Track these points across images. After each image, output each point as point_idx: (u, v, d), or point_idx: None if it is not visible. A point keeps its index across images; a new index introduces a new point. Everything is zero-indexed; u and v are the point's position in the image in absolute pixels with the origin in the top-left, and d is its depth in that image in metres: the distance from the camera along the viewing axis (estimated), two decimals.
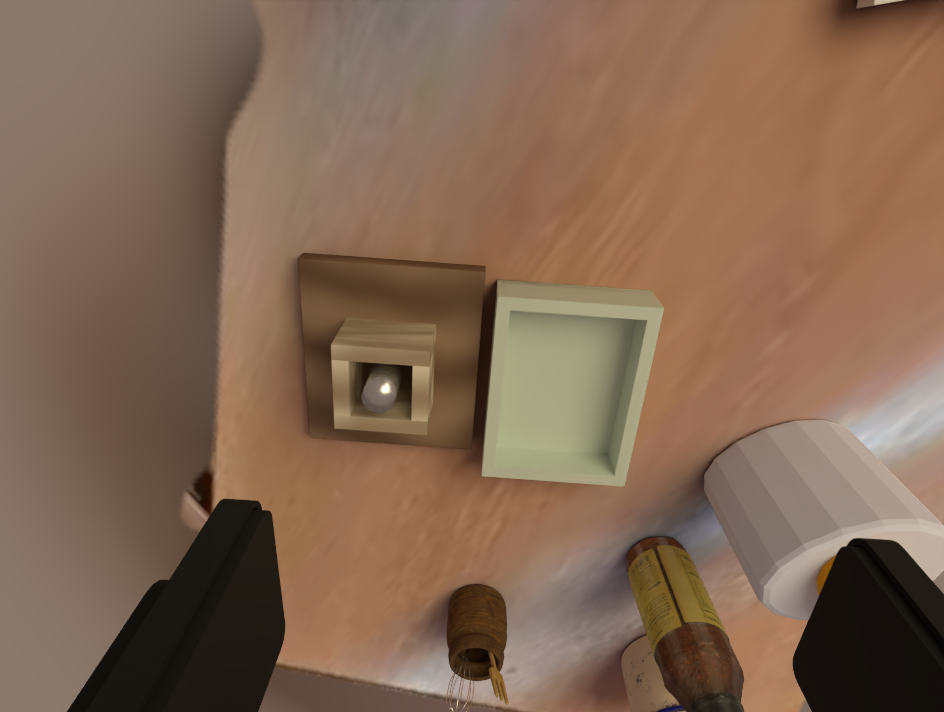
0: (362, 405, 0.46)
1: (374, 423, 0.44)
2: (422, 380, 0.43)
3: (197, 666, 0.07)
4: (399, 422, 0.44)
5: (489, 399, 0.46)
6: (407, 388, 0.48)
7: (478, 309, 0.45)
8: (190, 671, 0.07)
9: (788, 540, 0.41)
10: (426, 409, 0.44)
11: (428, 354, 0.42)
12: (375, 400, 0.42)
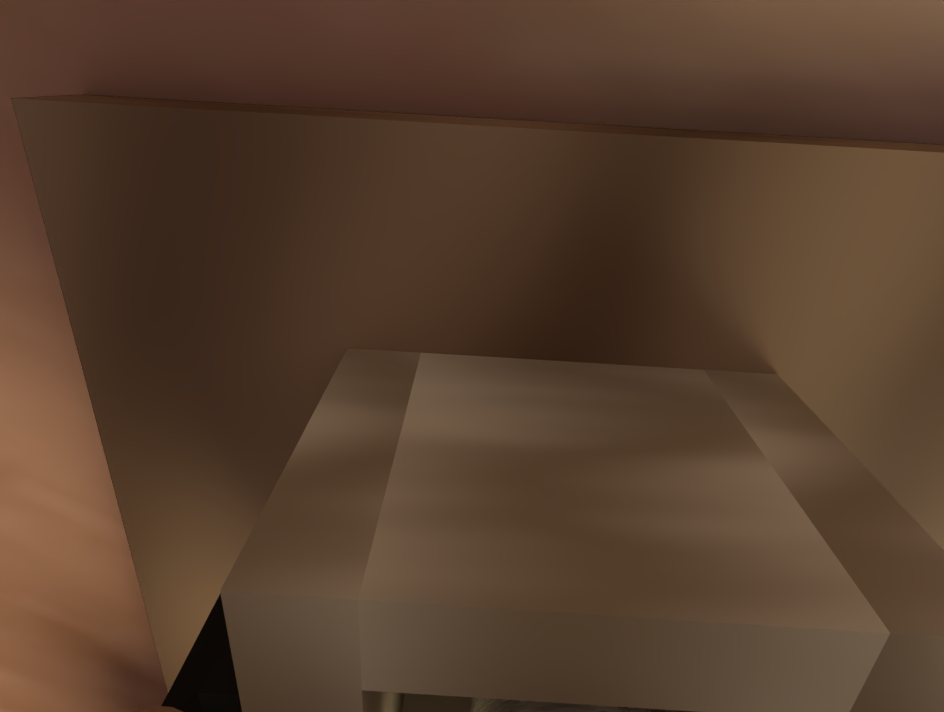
0: None
1: None
2: None
3: None
4: None
5: None
6: None
7: None
8: None
9: None
10: None
11: None
12: None
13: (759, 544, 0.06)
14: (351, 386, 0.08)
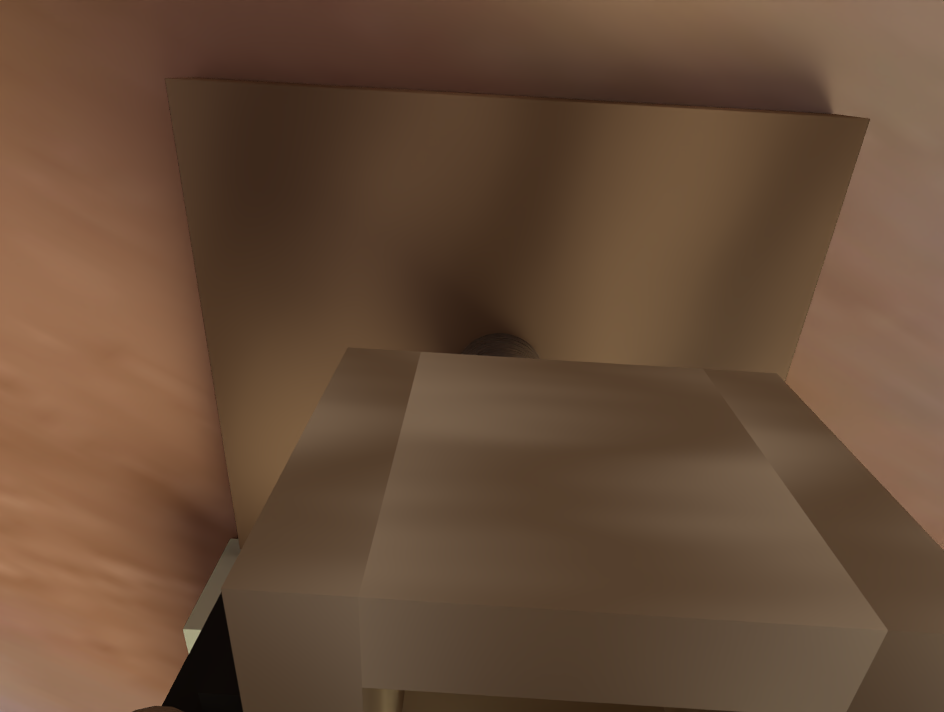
0: None
1: None
2: None
3: None
4: None
5: None
6: None
7: None
8: None
9: None
10: None
11: None
12: None
13: (758, 542, 0.06)
14: (351, 386, 0.09)
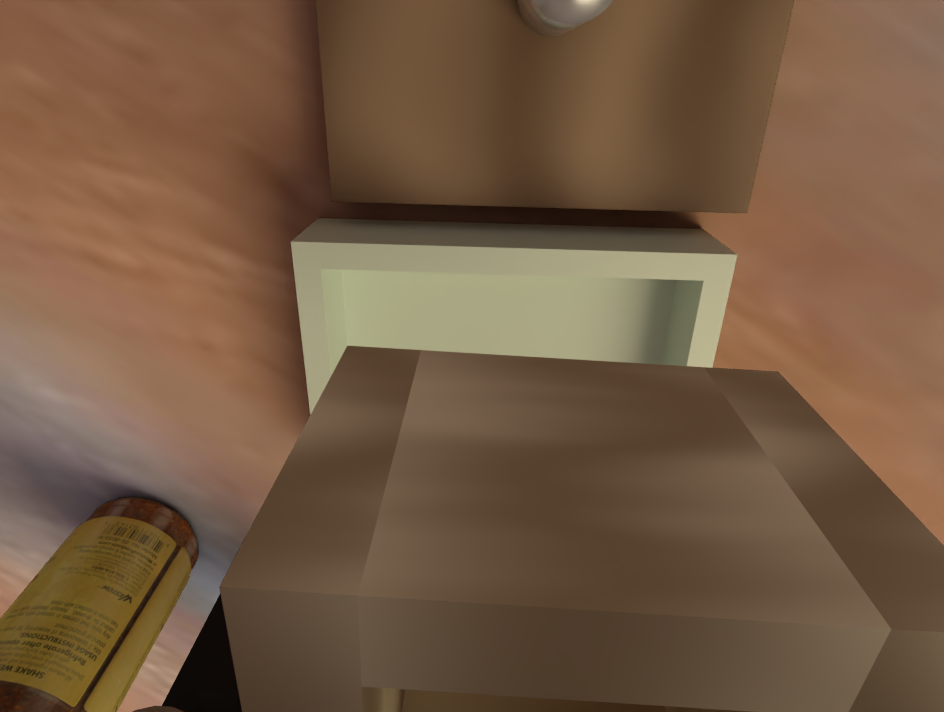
0: None
1: None
2: None
3: None
4: None
5: (496, 249, 0.21)
6: None
7: (669, 203, 0.23)
8: None
9: None
10: None
11: None
12: None
13: (760, 540, 0.06)
14: (350, 383, 0.08)
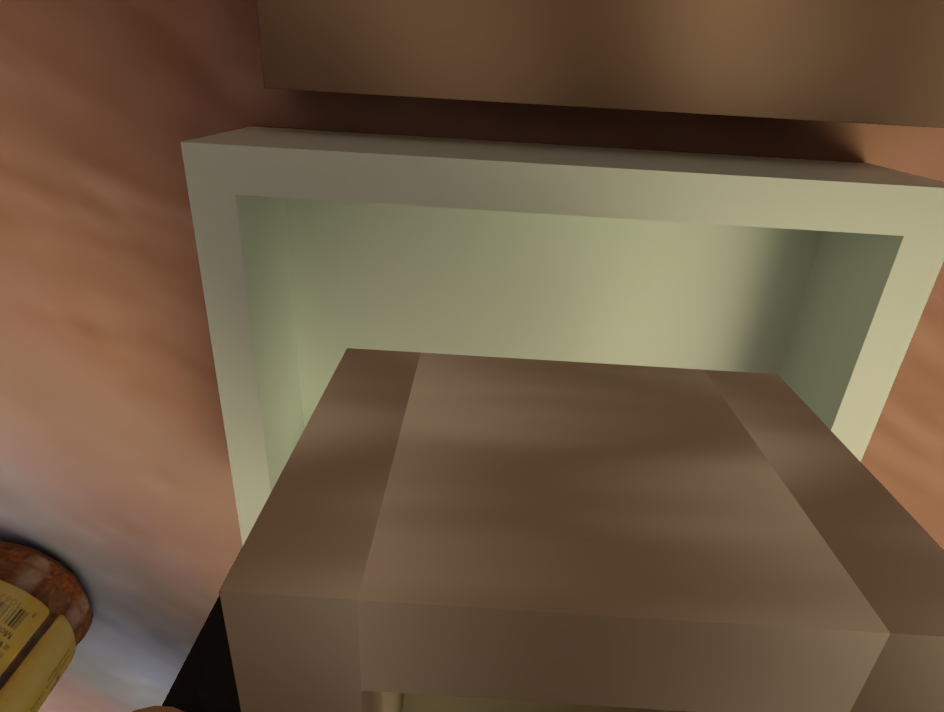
0: None
1: None
2: None
3: None
4: None
5: (543, 167, 0.12)
6: None
7: (833, 107, 0.13)
8: None
9: None
10: None
11: None
12: None
13: (759, 544, 0.06)
14: (351, 386, 0.08)
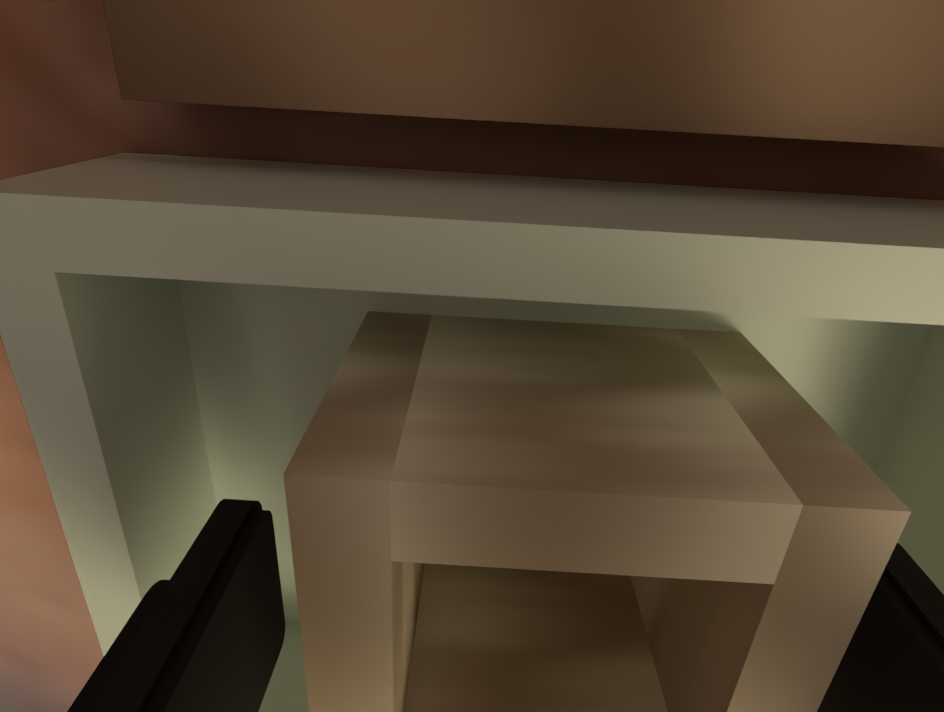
0: None
1: (358, 663, 0.08)
2: None
3: (197, 666, 0.07)
4: None
5: (549, 231, 0.07)
6: None
7: None
8: (190, 671, 0.07)
9: None
10: None
11: None
12: None
13: (708, 449, 0.07)
14: (373, 340, 0.10)
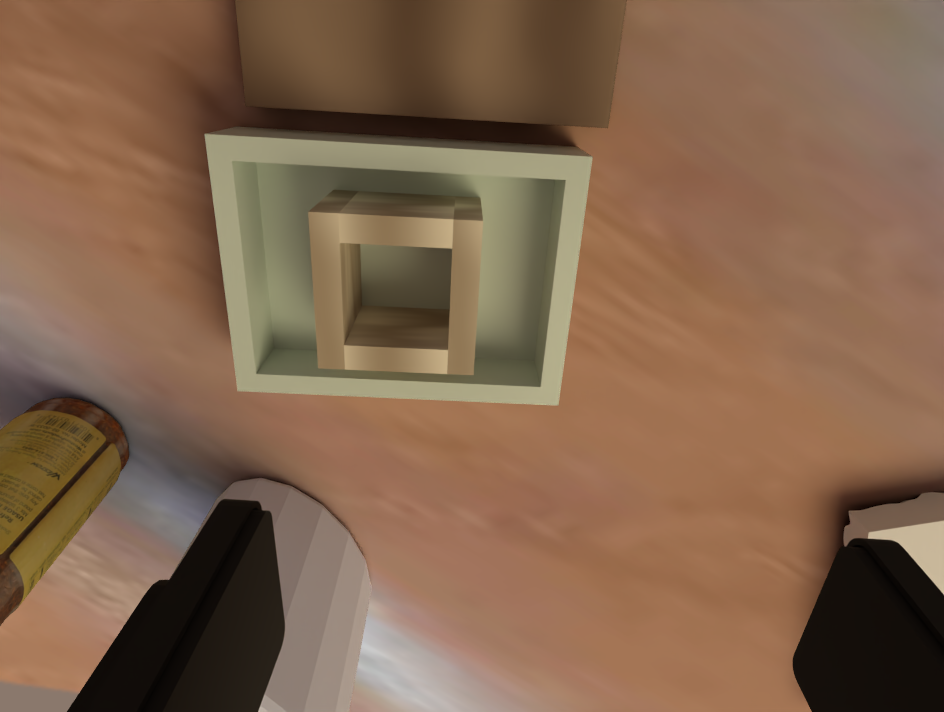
0: (347, 247, 0.26)
1: (330, 285, 0.25)
2: (422, 364, 0.27)
3: (197, 666, 0.07)
4: (337, 326, 0.26)
5: (386, 146, 0.24)
6: (361, 290, 0.30)
7: (541, 117, 0.26)
8: (190, 671, 0.07)
9: None
10: (368, 368, 0.27)
11: (468, 373, 0.27)
12: None
13: (436, 213, 0.25)
14: (335, 195, 0.27)
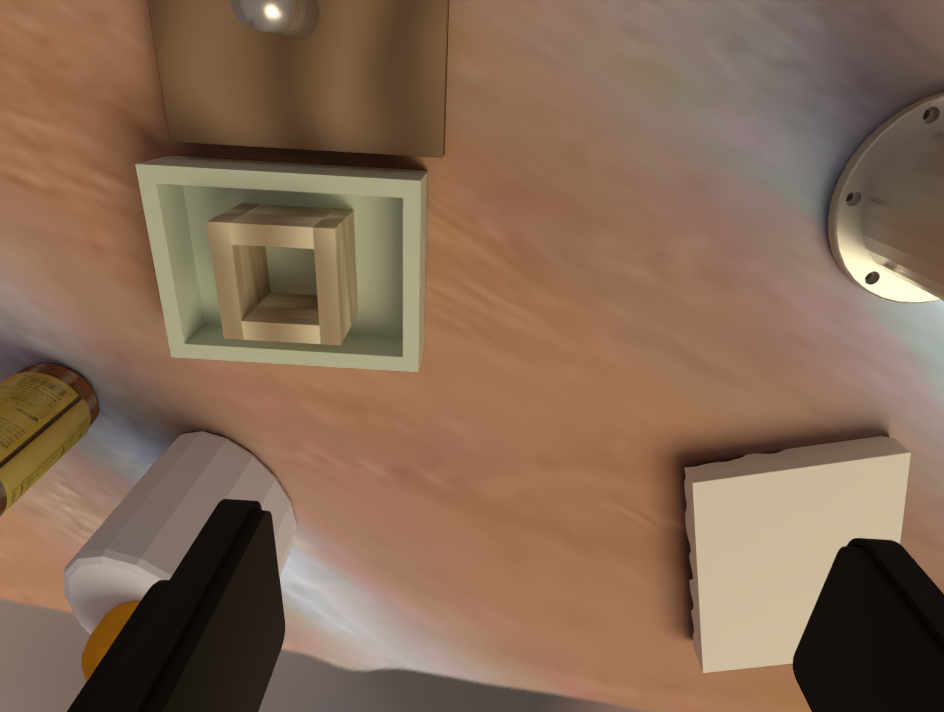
0: (243, 247, 0.35)
1: (227, 276, 0.34)
2: (301, 336, 0.35)
3: (197, 667, 0.07)
4: (235, 307, 0.34)
5: (267, 173, 0.33)
6: (267, 280, 0.39)
7: (391, 149, 0.34)
8: (190, 672, 0.07)
9: (173, 561, 0.35)
10: (261, 339, 0.35)
11: (336, 343, 0.35)
12: None
13: (304, 222, 0.33)
14: (239, 207, 0.36)
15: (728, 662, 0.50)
